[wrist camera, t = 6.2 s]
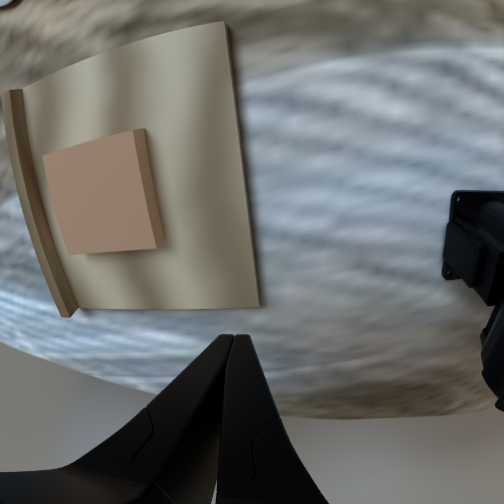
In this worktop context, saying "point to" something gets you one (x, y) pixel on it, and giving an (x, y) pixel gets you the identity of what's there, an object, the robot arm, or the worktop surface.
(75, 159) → the tile
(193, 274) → the board
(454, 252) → the robot arm
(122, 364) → the worktop surface
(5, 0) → the kitchen cleaver
